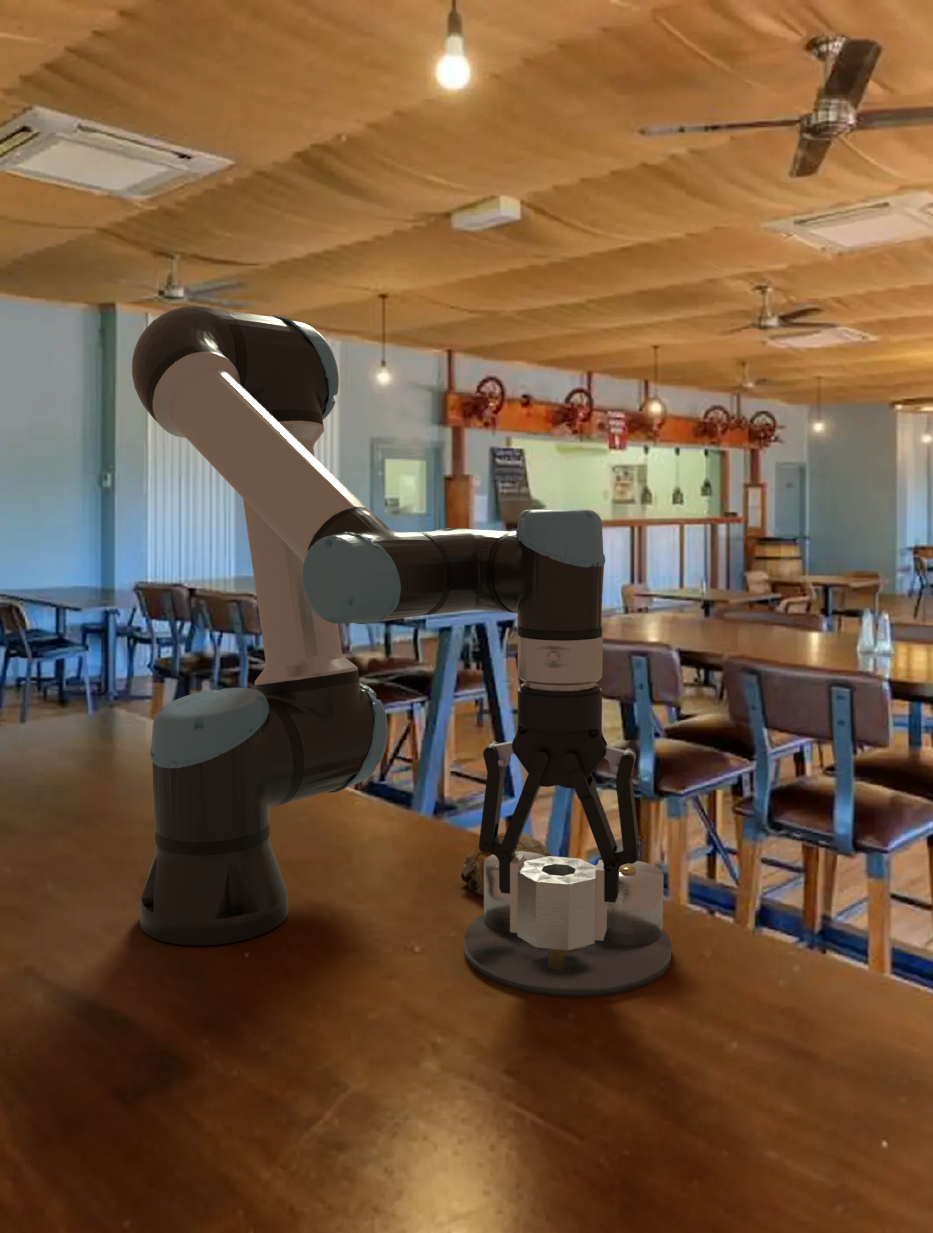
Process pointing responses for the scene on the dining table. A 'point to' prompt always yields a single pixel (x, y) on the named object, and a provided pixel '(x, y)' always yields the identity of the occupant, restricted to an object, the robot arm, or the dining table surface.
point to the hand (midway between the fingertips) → (558, 930)
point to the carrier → (598, 969)
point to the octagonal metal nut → (556, 903)
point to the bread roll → (476, 857)
